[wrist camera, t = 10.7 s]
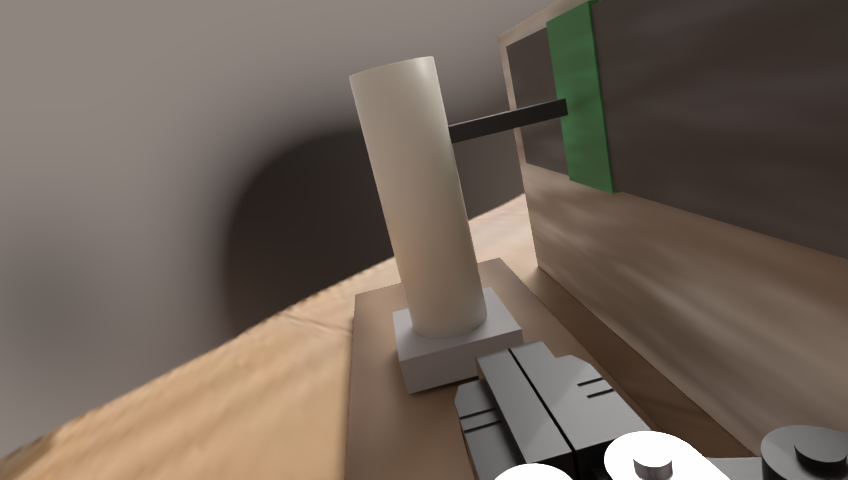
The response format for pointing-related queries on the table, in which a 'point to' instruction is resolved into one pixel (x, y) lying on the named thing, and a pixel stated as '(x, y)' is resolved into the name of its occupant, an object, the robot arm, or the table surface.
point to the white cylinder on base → (433, 220)
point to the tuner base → (661, 219)
